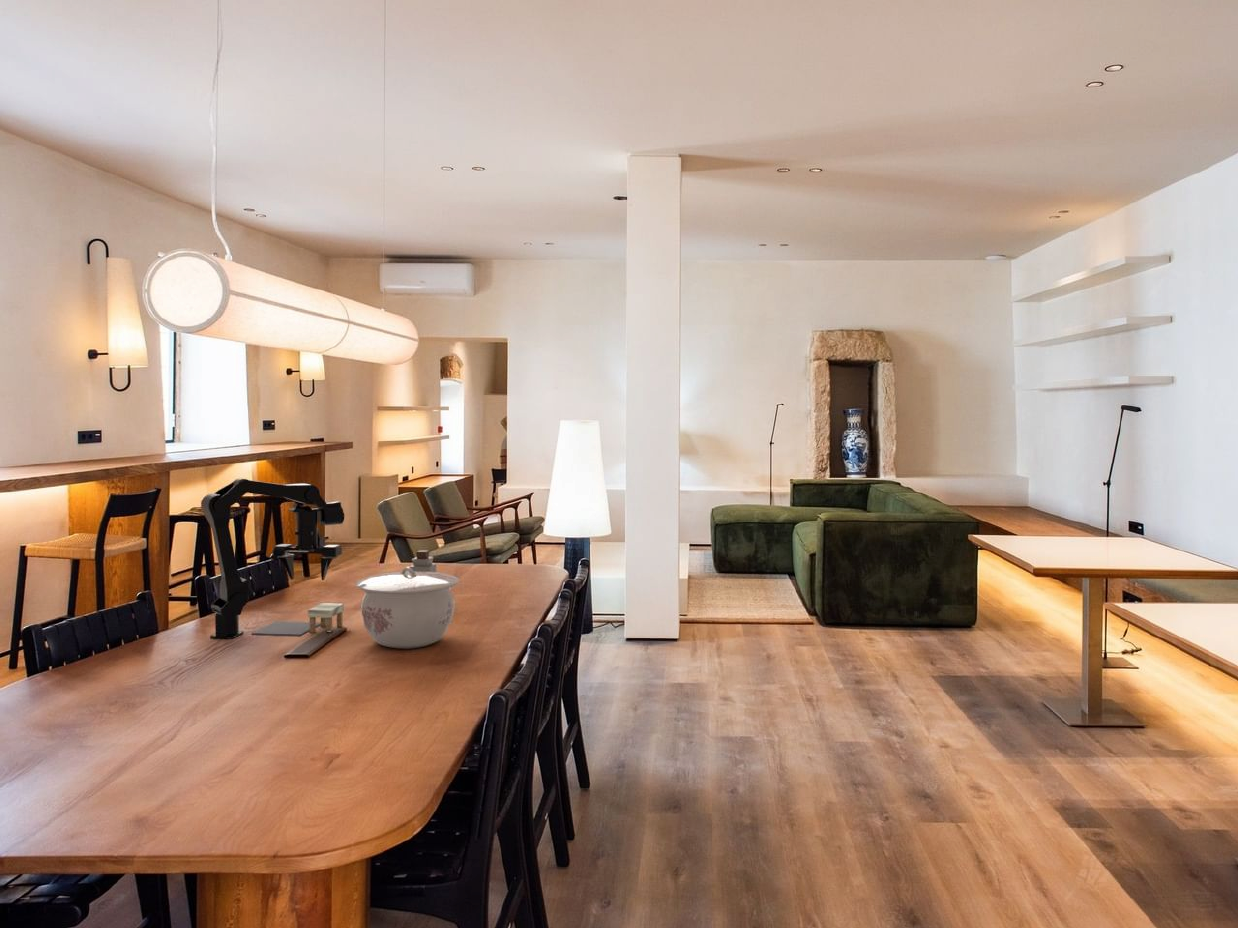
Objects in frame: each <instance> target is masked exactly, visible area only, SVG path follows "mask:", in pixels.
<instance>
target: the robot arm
mask: <svg viewBox="0 0 1238 928" xmlns="http://www.w3.org/2000/svg"><path fill="white" fill-rule="evenodd" d="M246 494H253V495H262V496H270V497H277V498H278V497H279V498H285V499H288V500H291V501H294V502H297V503H294V505H293V506H291V508H289V510H288V512H290V513H294V514H295V513H296V530H295V531H294V535H295V536H296V545H294V544H292V543H290V544H288V543H280V544H277V545H275V546H273V548H272V551H271V552H272V555H271V556H272V557H276V560H280V562H281V564H282V565H283V567H284V568H285V570H286V572H287V574H288V576H289V579H290V580H291V581H292V580H294V579H295V570H294V568H295V567H294V566H295V565H294V559H295V554H309V555H311V554H313V555H314V554H316V555H317V554H318V555H320V554H321V555H322V556H323V557H321V558H320V577H321V581H324V580H325V578H326V577H327V573H328V571H329V568H330V566H331V563H332V561H333V560H334V559H336V558H338V556H340V555H342V554H343V548H342V546H341V545H340V544H327V545H326V536H324V535H322V534H321V533H320V529H319V527H318V523H320V525H322V526H332V525H333V526H334V525H342V524H343V523H344V521H345V513H344V509H343V507H342V502H340V501H332V502H326V501H325V499H323V497H322V496H321V493H320V490H319V488H318V486H317V485H314V484H308V483H289V484H281V483H272V482H266V481H259V480H258V481H257V480H251V479H247V478H242V477H240V478H235V480H233V481H232V482H230V483H229V484H227V485H226V486H223V487H222V488H220V489H218V490H217V491H215V492H214V493H208V494H206V495H205V496H203V498H202V500H201V501H200V507H201V509H202V512H203V514H204V518H205V519H206V520H207V522H208V524H209V526H210V527H211V531H212V536H213V541H214V547H215V552H216V556H217V563H218V566H219V572H220V582H219V596H218V597H217V598H216V599H215V600H214V601H213V602H212V603H211V605H210V608H211V610H212V612H213V613H215V616H214V618H215V619H214V625H215V626H214V627H215V628H214V629H215V631H214V632H215V633H214V634H211V635H210V636H209V637H210V638H212V639H213V638H214V639H234V638H236V637H238V636H240V635H243V634H244V633H245V630H239V629H240V627H239V623H240V621H239V619H240V618H239V616H240V615H242V612H243V609H244V607H245V606H246V605H247V604H248V602H249V599H250V598H249V595H252V593H251V591H250V590H249V581H248V580H247V579H246V578H242V577H241V576H240V574H239V570H238V565H237V560H236V555H235V551H234V546H233V540H232V535H231V529H230V520H231V515H232V514H231V513H232V512H231V511H232V509H231V508H232V506H234V504H236V503H237V502H238V501H239V500H240V499H241V498H242V497H243V496H245V495H246ZM298 503H300V504H306V505H300V504H298ZM311 506H312V507H315V508H312V507H311ZM316 507H317V508H316Z"/></svg>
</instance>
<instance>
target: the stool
mask: <svg viewBox="0 0 1238 928" xmlns="http://www.w3.org/2000/svg"><path fill="white" fill-rule="evenodd" d="M344 610H345V609H344V603H329V602H328V603H327V602H326V603H325V602H321V603H320V604H317V605H315V606H314V607H312V608H310V609H307V617H308V618H309V622H310V631H309V633H310V634H311V633H313V634H314V633H316V631H317V627H316V621H317V620H316V618H320V623H321V625H320V627H324V628H325V630H326V631H332V632H333V617H335V616H336V627H337V628H342V627H343V624H344V623H343V621H344V620H343V612H344ZM326 631H325V632H326Z"/></svg>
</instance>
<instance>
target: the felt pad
mask: <svg viewBox="0 0 1238 928" xmlns="http://www.w3.org/2000/svg"><path fill="white" fill-rule="evenodd" d="M319 626H321V622H319V621H318V622H316V628H317V627H319ZM308 632H310V621H281V620H279V621H273V622H271V623H269V624H268V625H266V626H264V627H261V628H259V629H258V630H255V631H253V632H251V635H255V636H257V635H258V636H288V637H289V636H290V637H291V636H292V637H294V636H295V637H301V636H303V635H305V634H306V633H308Z"/></svg>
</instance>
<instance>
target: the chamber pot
mask: <svg viewBox="0 0 1238 928" xmlns="http://www.w3.org/2000/svg"><path fill="white" fill-rule="evenodd" d="M460 582H461V580H460V579H459V578H458V577H457V576H454V575H452V574H447V573H444V572H437V571H436V572H429V571H413V570H412V569H411V568H410V567H409V566H404V567H403V568H402V570H401V571H394V572H392V571H391V572H385V573H379V574H373V575H371V576H367V577H365V578H362V579H360V580H358V581H357V582H355V588H356V589H358V590H360V591H363V592H364V595H363V597H362V598H361V602H360V606H361V609H360V610H361V616H362V620H363V624H364V628H365V629H366V631H367V632H368V634H369V635H370V637H371V639H372V640H373V641H374V642H375V643H376V644H379V645H380V646H382V647H387V648H391V649H396V650H397V649H398V650H410V649H411V650H412V649H418V648H419V649H420V648H424V647H427V646H430V645H433V644H434V643H437V642H438V641H440V640H441V639H443V637H444V636H445V633H446V632H447V630H448V629H449V626H450V625H451V623H452V622H453V619H454V612H455V608H456V607H455V606H456V602H455V601H456V598H455V596H454V594H453V592H452V591H451V590H452V588H453V587H456V586H458V584H459V583H460Z"/></svg>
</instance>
